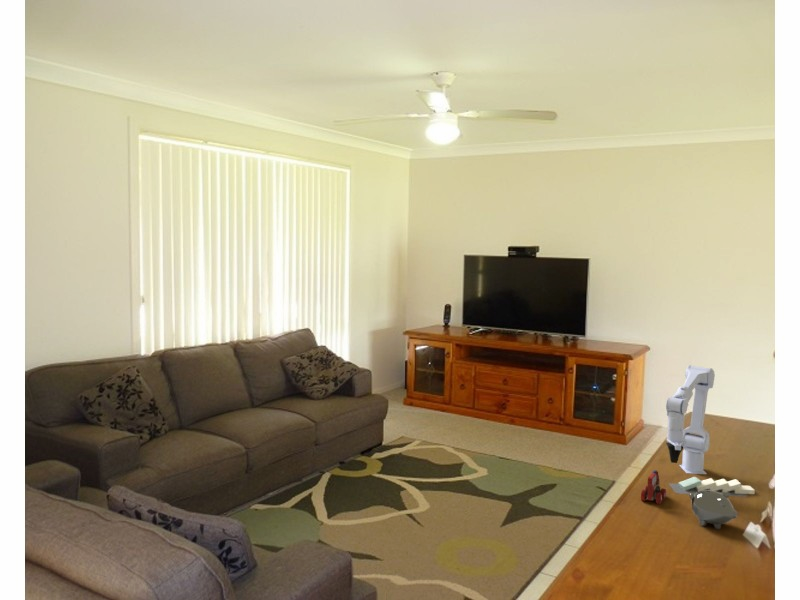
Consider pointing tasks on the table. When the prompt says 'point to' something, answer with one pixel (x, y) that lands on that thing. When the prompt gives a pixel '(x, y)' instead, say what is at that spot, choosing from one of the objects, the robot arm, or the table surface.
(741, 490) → the tile
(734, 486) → the tile
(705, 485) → the tile
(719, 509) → the piggy bank
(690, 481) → the pale green tile
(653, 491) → the toy fire truck
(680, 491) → the runner mat
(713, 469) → the table surface
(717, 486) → the tile
